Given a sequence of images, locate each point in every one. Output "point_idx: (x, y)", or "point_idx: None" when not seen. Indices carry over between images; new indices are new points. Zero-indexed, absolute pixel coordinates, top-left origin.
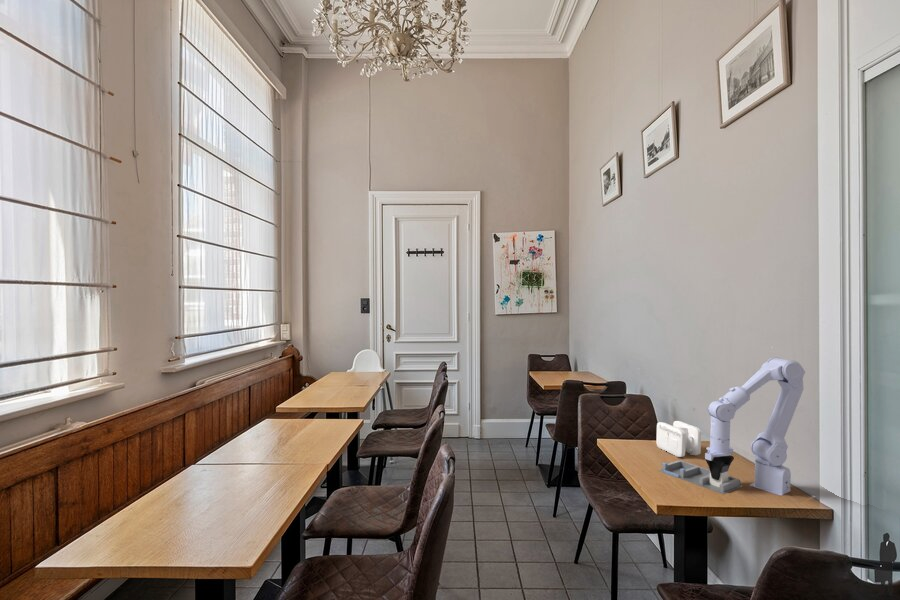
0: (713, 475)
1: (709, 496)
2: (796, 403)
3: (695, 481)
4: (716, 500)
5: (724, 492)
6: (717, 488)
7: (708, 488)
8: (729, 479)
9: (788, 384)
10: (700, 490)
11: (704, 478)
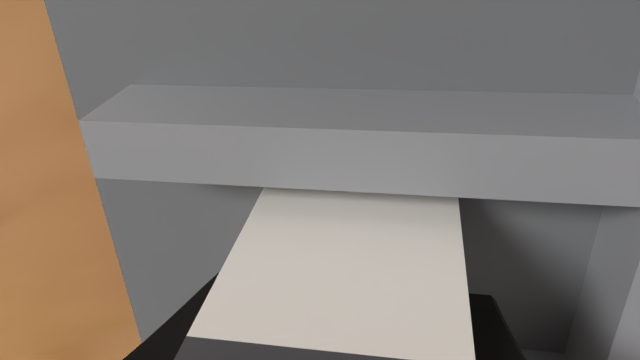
0: None
1: (13, 278)
2: None
3: (152, 4)
4: (11, 338)
5: None
6: None
7: (119, 226)
8: (593, 338)
9: None
10: (34, 164)
11: (152, 178)
